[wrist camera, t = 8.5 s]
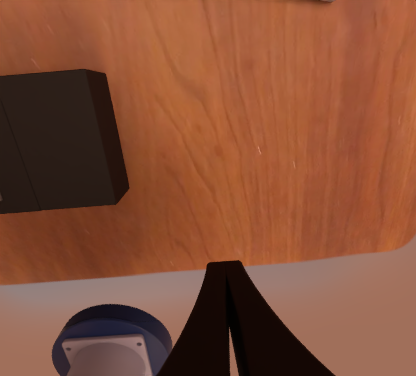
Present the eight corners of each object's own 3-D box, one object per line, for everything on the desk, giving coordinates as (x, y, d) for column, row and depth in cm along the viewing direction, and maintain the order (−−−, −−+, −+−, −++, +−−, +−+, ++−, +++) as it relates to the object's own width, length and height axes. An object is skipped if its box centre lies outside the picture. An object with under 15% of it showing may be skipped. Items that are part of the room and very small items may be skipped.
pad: (129, 188, 19) (116, 205, 16) (65, 193, 19) (40, 210, 16) (105, 73, 16) (84, 68, 13) (29, 79, 16) (-8, 76, 13)
